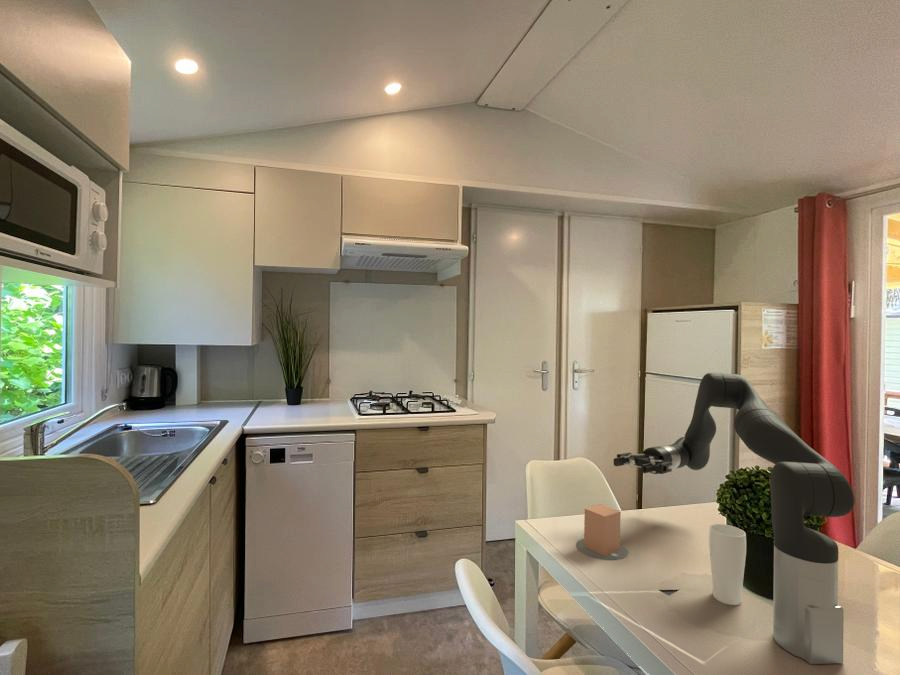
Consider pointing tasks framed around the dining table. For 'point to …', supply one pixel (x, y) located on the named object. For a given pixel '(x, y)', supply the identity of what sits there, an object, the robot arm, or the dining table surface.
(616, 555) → the plate
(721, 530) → the drinking glass
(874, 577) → the dining table surface
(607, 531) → the orange brown block
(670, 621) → the dining table surface
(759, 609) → the dining table surface
